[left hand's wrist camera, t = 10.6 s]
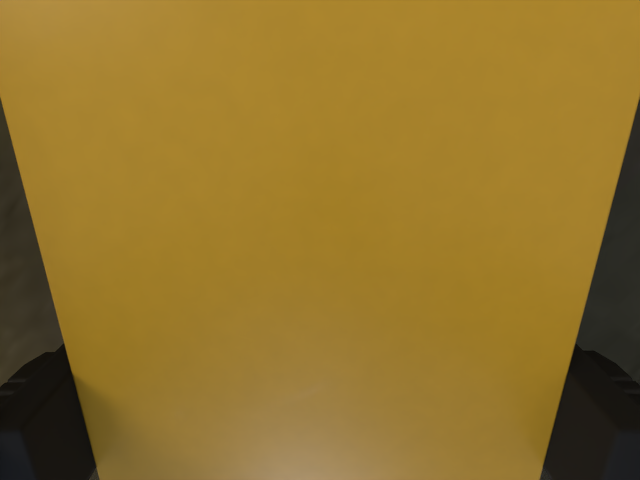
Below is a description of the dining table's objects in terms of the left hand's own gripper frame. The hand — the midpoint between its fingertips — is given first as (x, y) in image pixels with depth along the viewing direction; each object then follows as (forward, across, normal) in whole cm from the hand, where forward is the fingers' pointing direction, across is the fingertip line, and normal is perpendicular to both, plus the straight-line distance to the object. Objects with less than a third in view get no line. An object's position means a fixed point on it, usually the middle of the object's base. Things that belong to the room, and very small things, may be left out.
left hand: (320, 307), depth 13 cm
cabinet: (+6, 0, -6) cm, 8 cm away
